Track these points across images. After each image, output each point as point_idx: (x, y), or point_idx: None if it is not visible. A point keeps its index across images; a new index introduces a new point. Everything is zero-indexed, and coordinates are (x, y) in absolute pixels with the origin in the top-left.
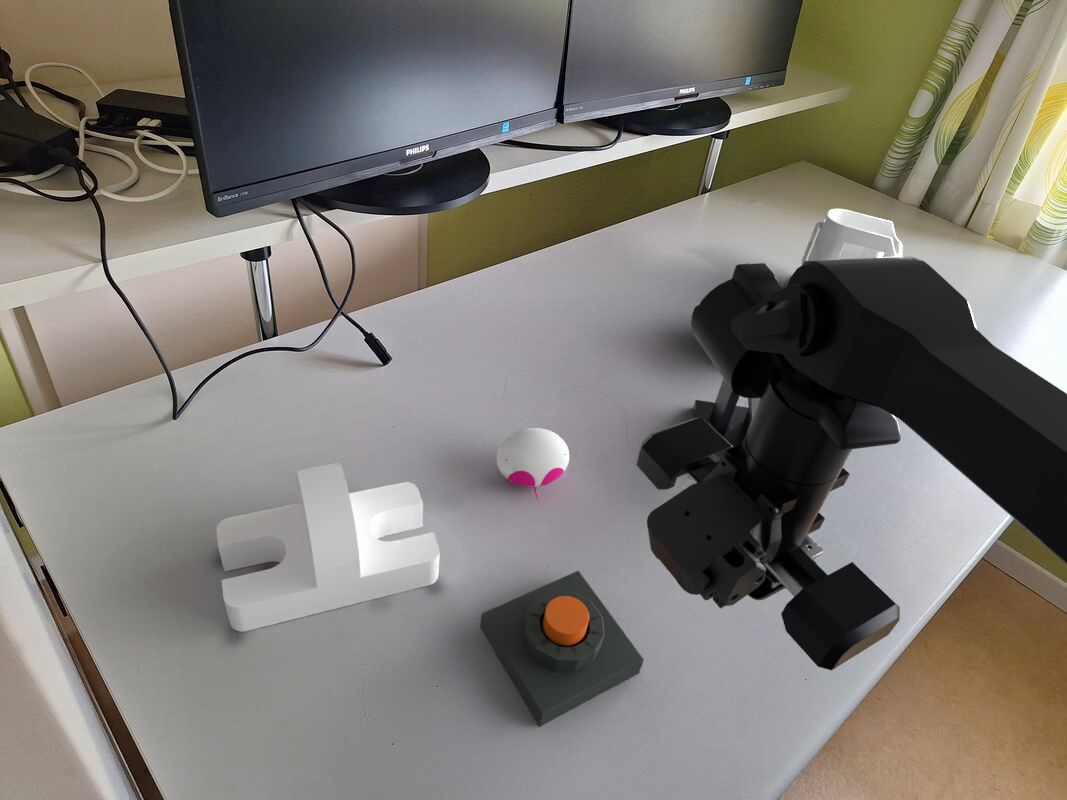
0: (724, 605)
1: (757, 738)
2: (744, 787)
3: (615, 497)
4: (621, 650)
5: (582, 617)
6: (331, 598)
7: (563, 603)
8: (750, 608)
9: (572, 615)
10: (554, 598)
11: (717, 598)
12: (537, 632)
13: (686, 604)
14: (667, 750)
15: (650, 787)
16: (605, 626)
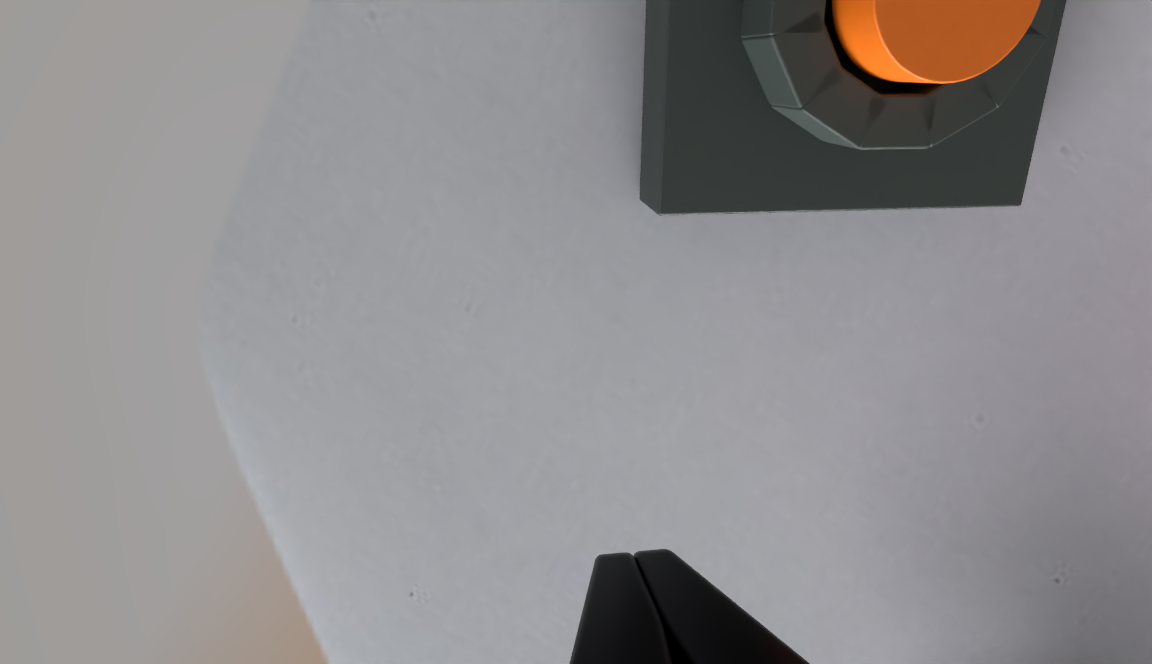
0: (585, 600)
1: (325, 389)
2: (217, 270)
3: (1098, 464)
4: (722, 164)
5: (915, 39)
6: None
7: (1007, 2)
8: None
9: (946, 3)
10: None
11: (653, 588)
12: None
13: (735, 449)
14: (401, 130)
15: (323, 5)
16: (817, 167)
